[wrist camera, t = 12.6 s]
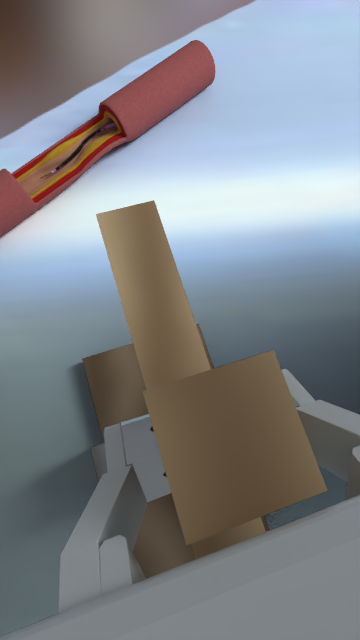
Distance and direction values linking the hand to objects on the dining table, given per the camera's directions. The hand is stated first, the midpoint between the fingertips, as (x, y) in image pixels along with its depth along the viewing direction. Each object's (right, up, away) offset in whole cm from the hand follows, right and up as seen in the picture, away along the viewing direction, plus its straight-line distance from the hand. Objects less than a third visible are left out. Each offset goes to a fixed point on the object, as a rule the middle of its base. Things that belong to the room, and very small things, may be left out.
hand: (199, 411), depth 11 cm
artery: (-13, +21, +30) cm, 39 cm away
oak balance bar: (0, -2, +6) cm, 6 cm away
